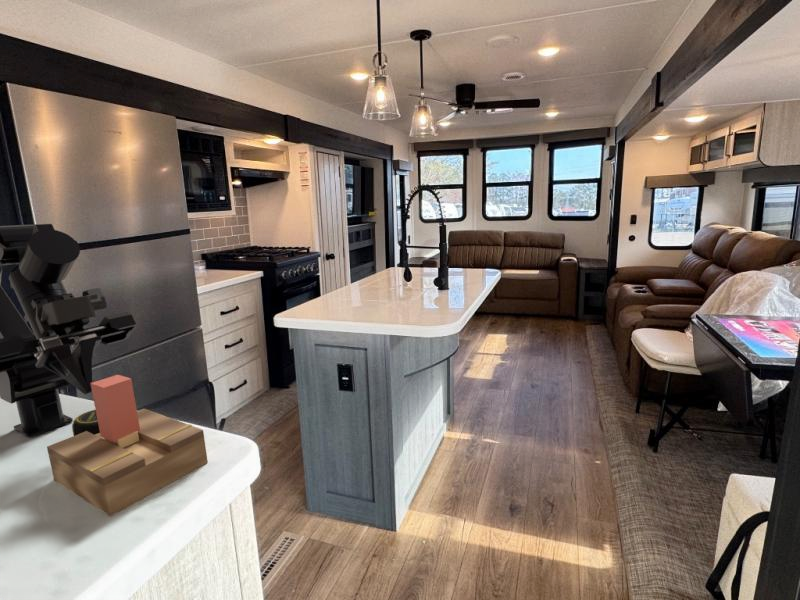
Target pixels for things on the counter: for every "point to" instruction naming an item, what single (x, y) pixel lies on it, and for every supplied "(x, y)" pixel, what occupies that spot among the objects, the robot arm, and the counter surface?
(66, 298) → the robot arm
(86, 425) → the tape measure
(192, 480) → the counter surface
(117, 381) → the red tall block
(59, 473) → the grooved wooden block
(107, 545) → the counter surface
